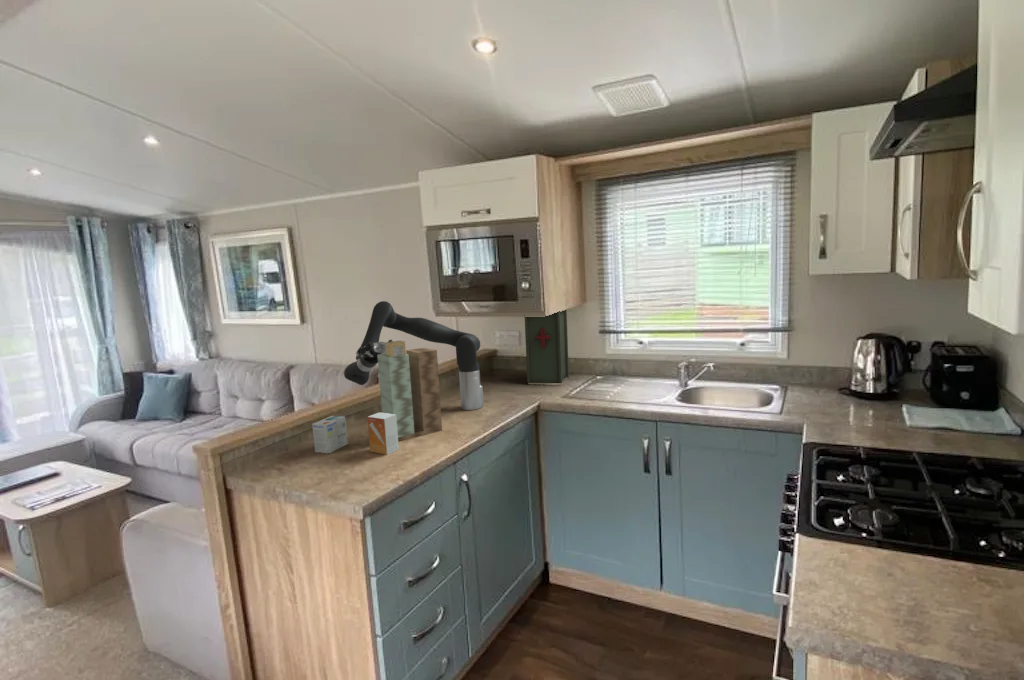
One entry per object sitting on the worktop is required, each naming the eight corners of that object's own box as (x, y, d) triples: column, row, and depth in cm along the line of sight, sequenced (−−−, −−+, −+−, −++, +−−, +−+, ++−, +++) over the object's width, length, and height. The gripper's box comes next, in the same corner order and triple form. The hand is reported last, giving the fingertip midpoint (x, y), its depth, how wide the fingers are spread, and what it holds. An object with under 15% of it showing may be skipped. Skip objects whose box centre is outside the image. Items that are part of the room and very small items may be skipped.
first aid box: (568, 378, 296) (566, 305, 291) (561, 385, 279) (559, 308, 273) (536, 377, 302) (533, 306, 296) (527, 384, 284) (524, 309, 279)
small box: (369, 452, 190) (366, 416, 188) (382, 446, 196) (379, 411, 194) (387, 455, 186) (384, 418, 184) (399, 449, 192) (396, 413, 190)
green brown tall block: (429, 425, 220) (424, 347, 215) (442, 430, 212) (436, 350, 207) (383, 436, 208) (377, 354, 203) (395, 442, 200) (388, 357, 195)
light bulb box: (334, 442, 203) (331, 415, 201) (348, 444, 200) (346, 416, 199) (314, 452, 193) (311, 423, 191) (329, 454, 190) (326, 424, 189)
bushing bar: (385, 349, 214) (384, 337, 213) (405, 354, 200) (404, 341, 199) (371, 351, 210) (370, 339, 210) (390, 356, 196) (389, 343, 195)
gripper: (349, 353, 218) (361, 336, 206) (382, 349, 226) (395, 332, 214) (354, 370, 216) (366, 354, 203) (387, 365, 224) (400, 349, 212)
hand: (381, 343), depth 209 cm, fingers open, 8 cm apart
